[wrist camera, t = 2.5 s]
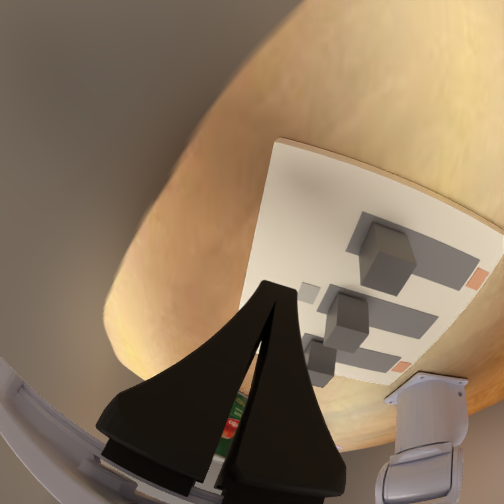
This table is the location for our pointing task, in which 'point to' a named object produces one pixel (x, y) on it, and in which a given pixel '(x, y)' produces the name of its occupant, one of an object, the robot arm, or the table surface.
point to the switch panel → (349, 245)
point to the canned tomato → (230, 428)
